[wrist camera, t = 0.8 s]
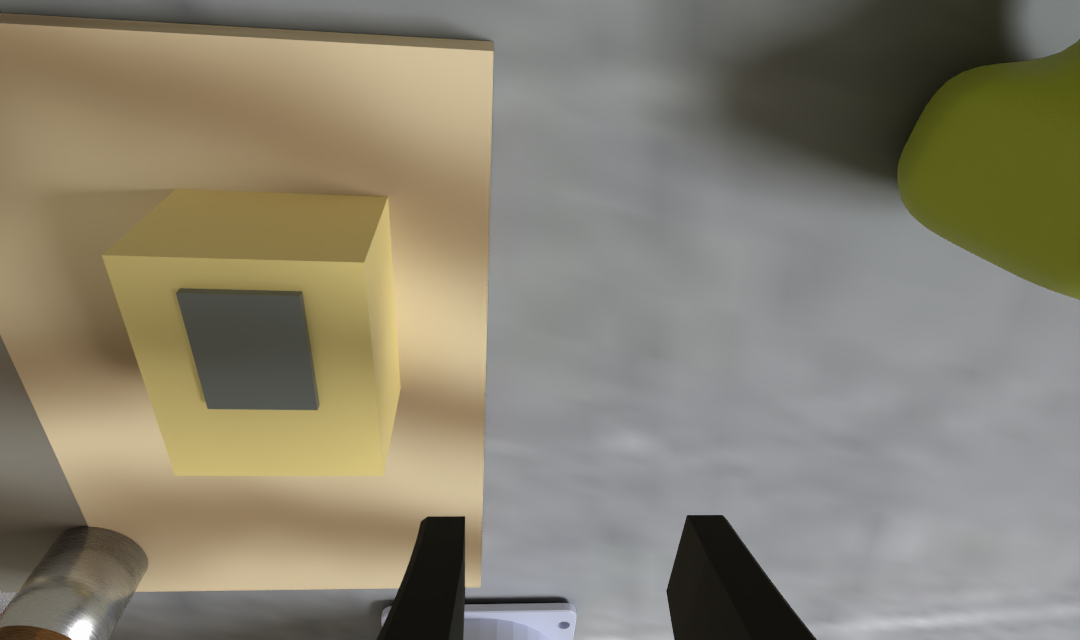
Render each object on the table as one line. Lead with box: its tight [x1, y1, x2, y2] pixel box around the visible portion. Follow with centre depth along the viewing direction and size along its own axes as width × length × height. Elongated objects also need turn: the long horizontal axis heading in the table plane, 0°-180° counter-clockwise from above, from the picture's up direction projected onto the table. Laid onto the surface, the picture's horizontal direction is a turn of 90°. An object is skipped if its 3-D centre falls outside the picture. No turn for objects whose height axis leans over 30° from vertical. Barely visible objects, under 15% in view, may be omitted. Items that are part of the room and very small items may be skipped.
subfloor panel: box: [0, 13, 493, 593], centre depth 19 cm, size 19×20×1 cm
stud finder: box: [102, 189, 401, 476], centre depth 16 cm, size 6×5×4 cm
